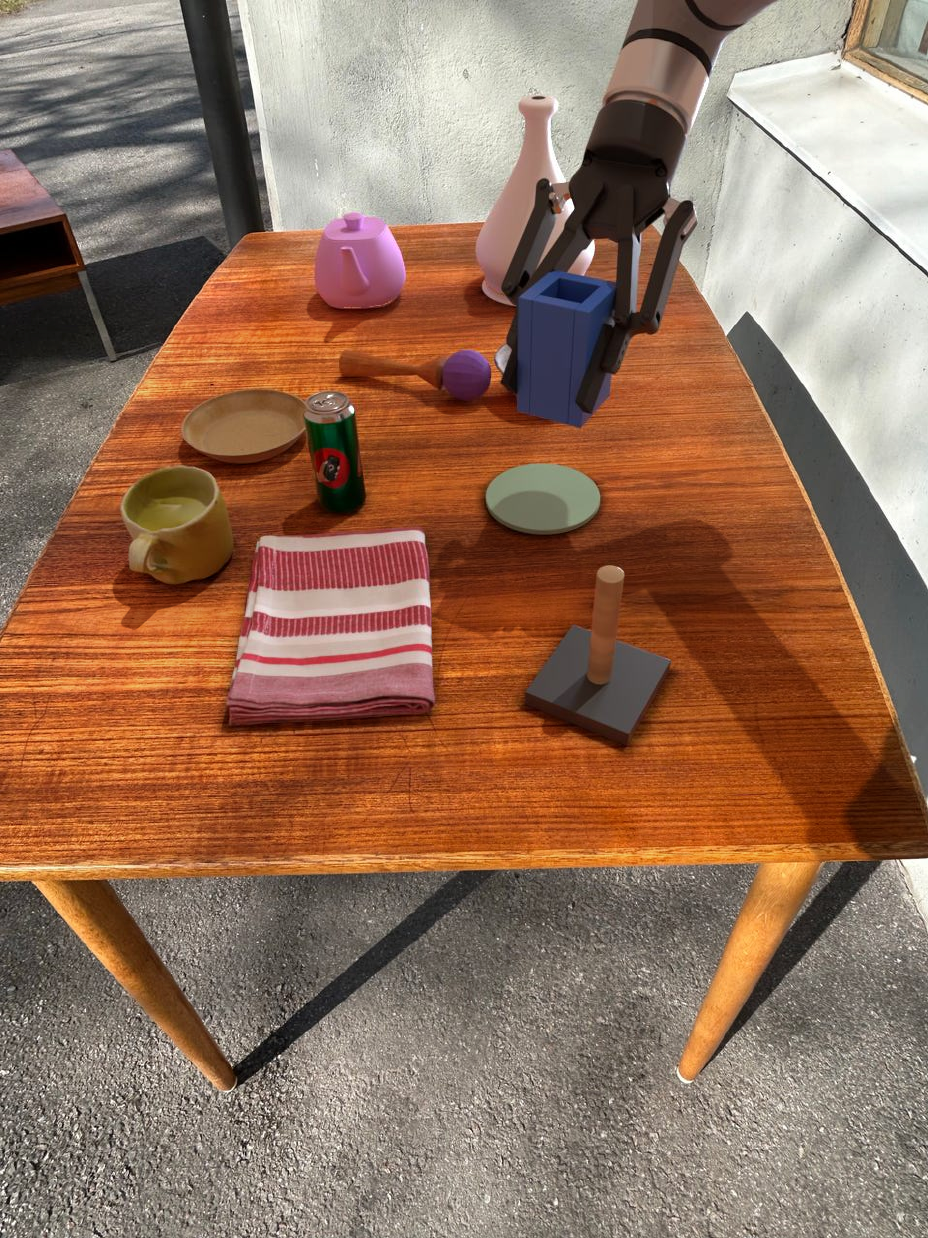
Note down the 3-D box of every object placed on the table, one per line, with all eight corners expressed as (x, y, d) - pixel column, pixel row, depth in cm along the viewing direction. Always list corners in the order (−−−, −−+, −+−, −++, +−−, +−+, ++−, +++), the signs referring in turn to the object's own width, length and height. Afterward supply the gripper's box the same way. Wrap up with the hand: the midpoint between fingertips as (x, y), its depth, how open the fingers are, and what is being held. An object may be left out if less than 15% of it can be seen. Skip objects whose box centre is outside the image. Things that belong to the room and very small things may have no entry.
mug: (171, 497, 91) (158, 435, 82) (256, 542, 90) (252, 484, 81) (95, 583, 85) (72, 526, 76) (185, 632, 84) (172, 580, 75)
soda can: (374, 505, 92) (362, 404, 83) (331, 522, 90) (314, 420, 82) (353, 483, 95) (339, 383, 87) (311, 498, 93) (292, 397, 85)
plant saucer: (300, 397, 109) (297, 378, 107) (325, 458, 99) (322, 438, 97) (181, 420, 106) (175, 401, 104) (193, 486, 95) (187, 465, 94)
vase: (609, 300, 126) (626, 106, 109) (495, 317, 124) (493, 120, 106) (568, 257, 139) (577, 76, 122) (463, 271, 136) (457, 88, 119)
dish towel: (227, 731, 70) (220, 709, 68) (260, 548, 87) (255, 527, 85) (436, 717, 70) (434, 695, 69) (428, 538, 87) (426, 517, 86)
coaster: (611, 478, 94) (612, 473, 94) (583, 544, 86) (583, 540, 86) (506, 459, 97) (506, 455, 97) (469, 521, 89) (469, 517, 89)
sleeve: (547, 380, 78) (552, 268, 71) (609, 396, 76) (620, 282, 69) (516, 411, 74) (518, 297, 67) (580, 428, 72) (589, 312, 65)
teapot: (325, 274, 137) (314, 194, 129) (409, 271, 136) (403, 192, 128) (308, 331, 122) (295, 246, 114) (403, 328, 122) (396, 242, 114)
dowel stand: (571, 636, 77) (580, 523, 68) (669, 672, 73) (691, 557, 65) (524, 704, 71) (527, 590, 63) (627, 746, 68) (645, 632, 59)
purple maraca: (355, 334, 112) (498, 346, 105) (359, 379, 115) (498, 394, 108) (331, 345, 108) (479, 359, 101) (336, 392, 111) (480, 409, 104)
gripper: (764, 165, 70) (663, 439, 71) (550, 137, 77) (463, 386, 78) (757, 106, 63) (646, 412, 64) (524, 82, 70) (428, 356, 71)
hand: (545, 397), depth 71 cm, fingers closed on sleeve, 6 cm apart
